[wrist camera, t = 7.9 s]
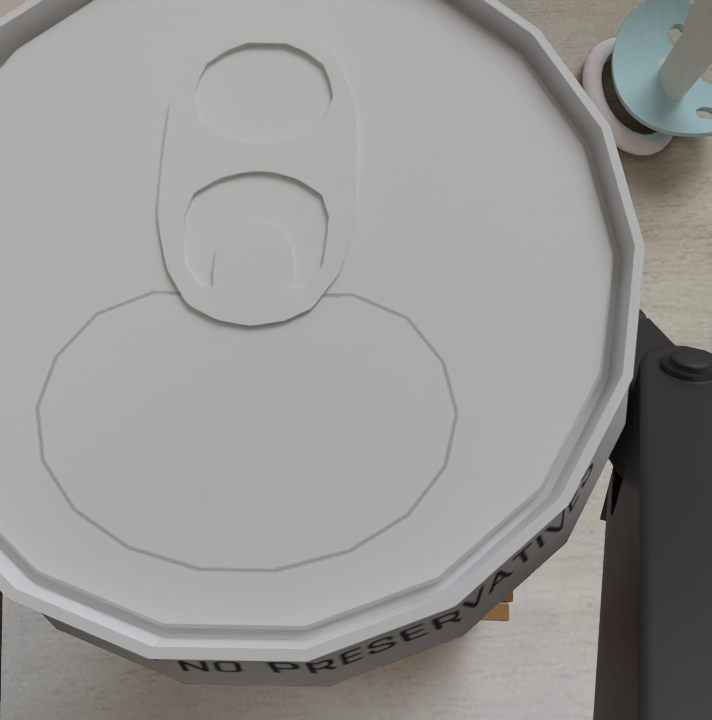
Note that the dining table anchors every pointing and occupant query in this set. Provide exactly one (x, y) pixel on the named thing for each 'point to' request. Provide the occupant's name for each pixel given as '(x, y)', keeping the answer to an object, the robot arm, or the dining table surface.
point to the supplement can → (299, 324)
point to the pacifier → (656, 73)
